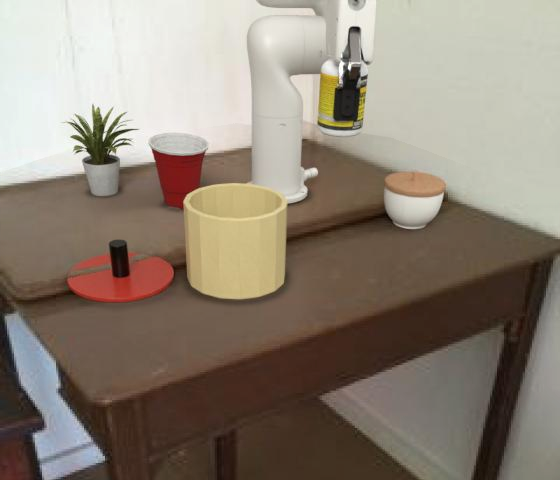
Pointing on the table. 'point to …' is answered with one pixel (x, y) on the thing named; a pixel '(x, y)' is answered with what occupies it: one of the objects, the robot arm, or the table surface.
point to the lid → (122, 276)
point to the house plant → (100, 152)
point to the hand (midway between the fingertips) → (341, 111)
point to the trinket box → (413, 198)
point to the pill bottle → (327, 101)
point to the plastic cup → (178, 164)
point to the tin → (235, 240)
